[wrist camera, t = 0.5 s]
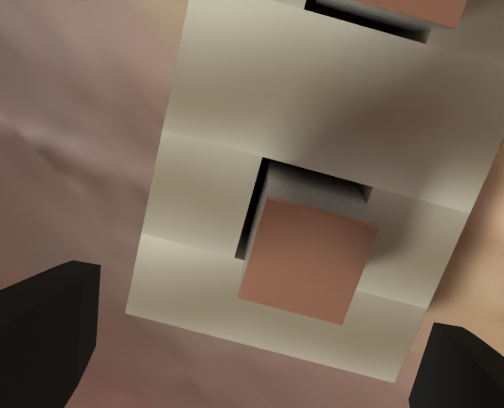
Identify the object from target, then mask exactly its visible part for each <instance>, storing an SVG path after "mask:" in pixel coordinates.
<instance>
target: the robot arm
mask: <svg viewBox="0 0 504 408" xmlns="http://www.w3.org/2000/svg"><path fill="white" fill-rule="evenodd" d="M100 269H101V265H97V264H91V263H85V262H79V261H69V262H66V263H63V264H61V265H58V266H56V267H53V268H51V269H49V270H46V271H44V272H42V273H39V274H37V275H35V276H32V277H30V278H28V279H25V280H23V281H21V282H18V283H16V284H14V285H11V286H9V287H7V288H4V289H2V290H0V408H64V407H65V405H66V404H67V402H68V401H69V399H70V397H71V396H72V394H73V392H74V391H75V389H76V387H77V386H78V384H79V382H80V379H81V377H82V375H83V373H84V371H85V369H86V367H87V365H88V362H89V360H90V358H91V356H92V353H93V351H94V349H95V347H96V336H97V319H98V302H99V286H100ZM409 405H410V408H504V357H503V356H502V355H501V354H500V353H498V352H497V351H496V350H494V349H493V348H492V347H490V346H489V345H488V344H486V343H485V342H484V341H482V340H481V339H480V338H478V337H477V336H476V335H474V334H473V333H471V332H470V331H468V330H466V329H465V328H463V327H459V326H453V325H447V324H441V323H435V322H434V324H433V327H432V330H431V333H430V336H429V339H428V342H427V345H426V348H425V351H424V354H423V357H422V360H421V363H420V366H419V369H418V372H417V375H416V378H415V381H414V384H413V388H412V391H411V394H410V397H409Z"/></svg>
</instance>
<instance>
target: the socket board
mask: <svg viewBox="0 0 504 408" xmlns="http://www.w3.org/2000/svg"><path fill="white" fill-rule="evenodd" d="M305 3H306V0H189V2H188V7H187V12H186V17H185V21H184V26H183V31H182V36H181V41H180V46H179V51H178V56H177V61H176V66H175V71H174V76H173V80H172V85H171V90H170V95H169V100H168V105H167V110H166V115H165V120H164V125H163V130H162V135H161V140H160V144H159V149H158V154H157V159H156V164H155V169H154V174H153V179H152V184H151V189H150V194H149V199H148V203H147V208H146V213H145V218H144V223H143V228H142V233H141V238H140V243H139V248H138V253H137V258H136V263H135V267H134V272H133V277H132V282H131V287H130V292H129V297H128V302H127V307H126V312H125V313H126V314H130V315H134V316H138V317H142V318H146V319H150V320H153V321H157V322H161V323H165V324H169V325H173V326H177V327H180V328H184V329H188V330H192V331H196V332H200V333H204V334H207V335H211V336H215V337H219V338H223V339H227V340H231V341H234V342H238V343H242V344H246V345H250V346H254V347H258V348H261V349H265V350H269V351H273V352H277V353H281V354H285V355H288V356H292V357H296V358H300V359H304V360H308V361H312V362H315V363H319V364H323V365H327V366H331V367H335V368H339V369H342V370H346V371H350V372H354V373H358V374H362V375H366V376H369V377H373V378H377V379H381V380H385V381H389V382H393V383H394V382H395V380H396V378H397V375H398V373H399V371H400V369H401V366H402V364H403V362H404V360H405V358H406V355H407V353H408V351H409V349H410V346H411V344H412V342H413V340H414V337H415V335H416V333H417V331H418V329H419V326H420V324H421V322H422V320H423V317H424V315H425V313H426V311H427V308H428V306H429V304H430V302H431V300H432V297H433V295H434V293H435V291H436V288H437V286H438V284H439V282H440V280H441V277H442V275H443V273H444V271H445V268H446V266H447V264H448V262H449V259H450V257H451V255H452V253H453V251H454V248H455V246H456V244H457V242H458V239H459V237H460V235H461V233H462V230H463V228H464V226H465V224H466V222H467V219H468V217H469V215H470V213H471V210H472V208H473V206H474V204H475V202H476V199H477V197H478V195H479V193H480V190H481V188H482V186H483V184H484V181H485V179H486V177H487V175H488V173H489V170H490V168H491V166H492V164H493V161H494V159H495V157H496V155H497V152H498V150H499V148H500V146H501V144H502V141H503V139H504V0H467V2H466V5H465V7H464V10H463V12H462V15H461V18H460V20H459V23H458V25H457V28H456V29H438V30H417V31H409V30H406V29H402V28H399V31H398V33H397V36H395V35H392V34H388V33H385V32H381V31H378V30H374V29H371V28H367V27H364V26H360V25H357V24H353V23H350V22H346V21H343V20H339V19H336V18H332V17H329V16H325V15H321V14H318V13H314V12H311V11H307V10H304V6H305ZM262 157H265V158H269V159H272V160H276V161H280V162H283V163H287V164H291V165H294V166H298V167H302V168H305V169H309V170H313V171H316V172H320V173H324V174H327V175H331V176H335V177H338V178H342V179H346V180H347V181H346V182H350V183H354V184H356V185H357V187H358V189H359V191H360V193H361V195H362V196H363V198H364V200H365V202H366V204H367V206H368V208H369V210H370V212H371V214H372V216H373V218H374V220H375V222H376V224H377V226H378V227H379V231H378V234H377V236H376V239H375V241H374V244H373V247H372V249H371V252H370V254H369V257H368V260H367V262H366V265H365V267H364V270H363V273H362V275H361V278H360V280H359V283H358V286H357V288H356V291H355V293H354V296H353V299H352V301H351V304H350V306H349V309H348V312H347V314H346V317H345V319H344V322H343V325H338V324H335V323H331V322H327V321H323V320H319V319H316V318H312V317H308V316H304V315H300V314H297V313H293V312H289V311H285V310H281V309H277V308H274V307H270V306H266V305H262V304H258V303H255V302H251V301H247V300H243V299H239V298H238V292H239V286H240V280H241V274H242V268H243V262H244V256H245V250H246V244H247V239H248V235H249V232H250V228H251V225H252V221H253V219H252V218H248V217H246V214H247V210H248V207H249V203H250V200H251V196H252V192H253V189H254V185H255V182H256V178H257V174H258V171H259V167H260V164H261V160H262Z"/></svg>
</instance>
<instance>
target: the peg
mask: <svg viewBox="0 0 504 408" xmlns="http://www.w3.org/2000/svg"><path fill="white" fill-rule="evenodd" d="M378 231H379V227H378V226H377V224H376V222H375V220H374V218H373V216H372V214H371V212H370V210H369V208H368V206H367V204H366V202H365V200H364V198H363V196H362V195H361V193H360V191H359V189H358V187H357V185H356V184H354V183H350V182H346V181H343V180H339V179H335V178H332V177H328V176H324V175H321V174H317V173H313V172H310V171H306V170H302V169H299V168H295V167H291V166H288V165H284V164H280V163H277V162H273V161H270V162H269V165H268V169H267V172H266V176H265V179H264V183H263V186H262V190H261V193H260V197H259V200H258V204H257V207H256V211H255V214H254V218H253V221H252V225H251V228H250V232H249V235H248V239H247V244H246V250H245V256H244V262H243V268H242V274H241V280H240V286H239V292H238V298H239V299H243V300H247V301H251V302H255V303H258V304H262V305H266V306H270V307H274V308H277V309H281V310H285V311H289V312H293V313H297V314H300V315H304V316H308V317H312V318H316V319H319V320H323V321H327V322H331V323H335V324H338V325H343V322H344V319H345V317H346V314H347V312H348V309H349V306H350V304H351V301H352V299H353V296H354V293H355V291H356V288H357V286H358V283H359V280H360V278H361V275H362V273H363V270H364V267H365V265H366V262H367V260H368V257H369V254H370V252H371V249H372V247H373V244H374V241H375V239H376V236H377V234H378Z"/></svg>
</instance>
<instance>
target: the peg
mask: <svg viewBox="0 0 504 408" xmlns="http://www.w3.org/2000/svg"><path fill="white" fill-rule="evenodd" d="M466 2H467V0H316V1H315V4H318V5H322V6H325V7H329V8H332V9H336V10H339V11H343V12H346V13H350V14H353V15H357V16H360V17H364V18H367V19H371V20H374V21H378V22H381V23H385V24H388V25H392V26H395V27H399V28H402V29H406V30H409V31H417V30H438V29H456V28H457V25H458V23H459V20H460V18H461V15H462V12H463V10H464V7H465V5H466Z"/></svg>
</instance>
